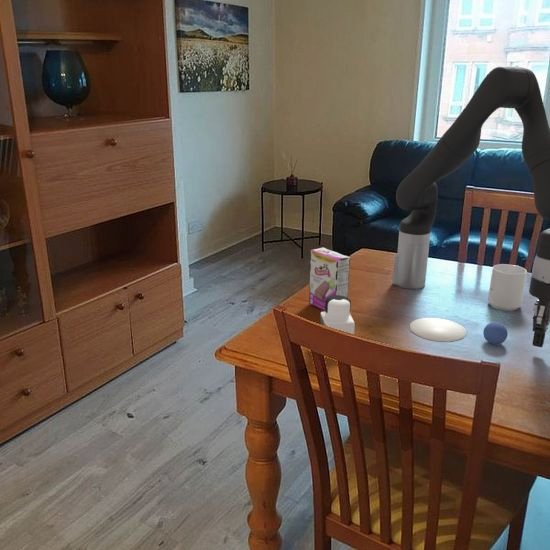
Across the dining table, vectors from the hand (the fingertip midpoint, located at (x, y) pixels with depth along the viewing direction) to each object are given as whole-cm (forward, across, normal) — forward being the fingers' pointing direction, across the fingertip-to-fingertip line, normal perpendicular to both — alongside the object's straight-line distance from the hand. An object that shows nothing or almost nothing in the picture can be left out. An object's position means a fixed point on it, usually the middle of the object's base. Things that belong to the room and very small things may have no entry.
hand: (537, 345), depth 131 cm
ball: (-1, 0, -10) cm, 10 cm away
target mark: (+2, 0, -24) cm, 24 cm away
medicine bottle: (+2, +22, -42) cm, 47 cm away
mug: (+2, -28, -14) cm, 31 cm away
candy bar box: (+2, +4, -54) cm, 54 cm away
